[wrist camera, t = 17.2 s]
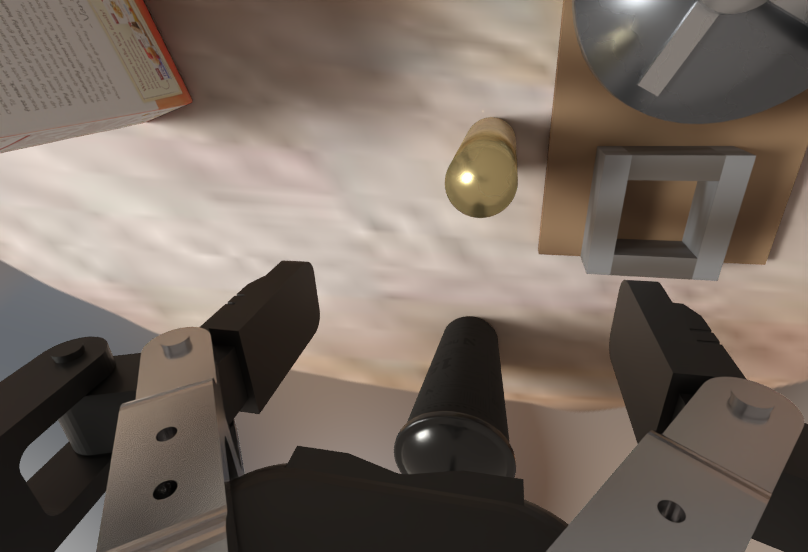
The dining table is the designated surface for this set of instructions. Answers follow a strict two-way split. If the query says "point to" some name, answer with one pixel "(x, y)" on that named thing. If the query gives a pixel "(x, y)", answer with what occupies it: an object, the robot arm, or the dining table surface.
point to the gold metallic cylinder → (484, 170)
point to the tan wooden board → (662, 180)
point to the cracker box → (81, 70)
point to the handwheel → (696, 54)
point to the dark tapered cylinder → (459, 408)
